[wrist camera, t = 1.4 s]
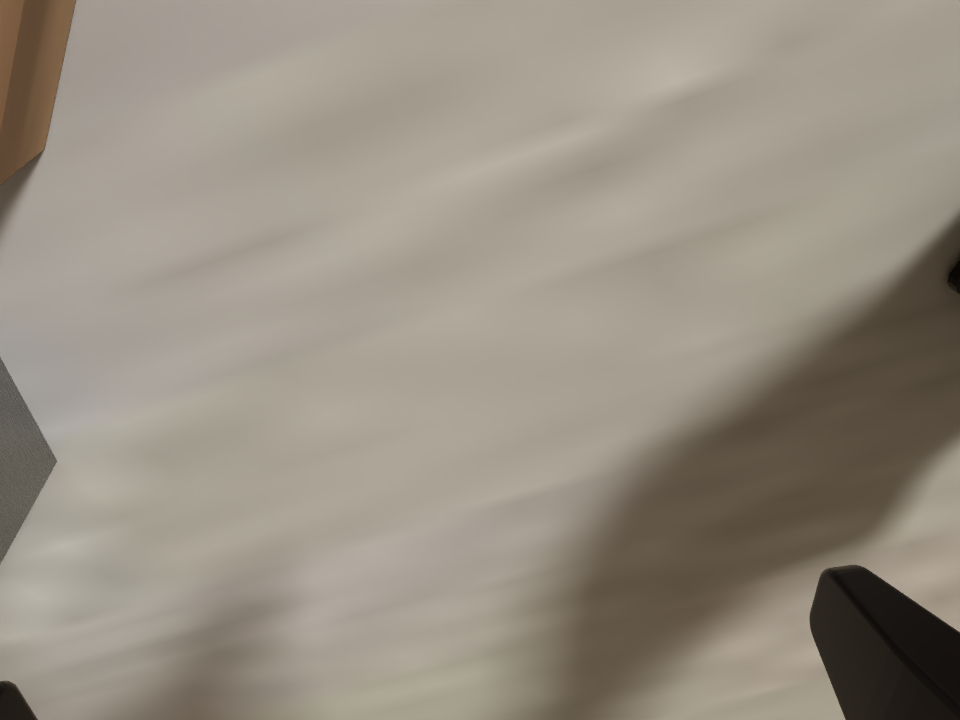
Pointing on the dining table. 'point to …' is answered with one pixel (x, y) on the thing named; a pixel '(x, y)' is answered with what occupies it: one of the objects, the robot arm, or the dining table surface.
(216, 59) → the dining table surface
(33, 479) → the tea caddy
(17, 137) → the tan wooden flat block
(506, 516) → the dining table surface
